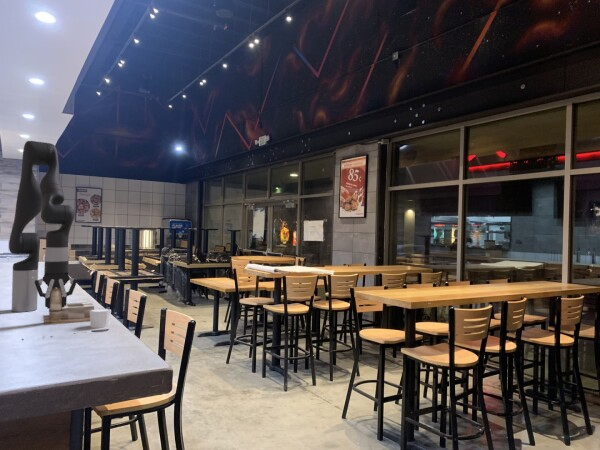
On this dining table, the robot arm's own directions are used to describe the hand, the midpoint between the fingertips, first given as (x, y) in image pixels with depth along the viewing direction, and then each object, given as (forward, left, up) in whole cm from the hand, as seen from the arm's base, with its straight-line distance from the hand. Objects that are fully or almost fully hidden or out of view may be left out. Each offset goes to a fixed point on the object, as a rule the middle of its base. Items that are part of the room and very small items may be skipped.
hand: (55, 307), depth 154 cm
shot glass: (+14, +13, -7) cm, 20 cm away
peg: (0, 0, -5) cm, 5 cm away
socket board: (-6, +5, -7) cm, 10 cm away
